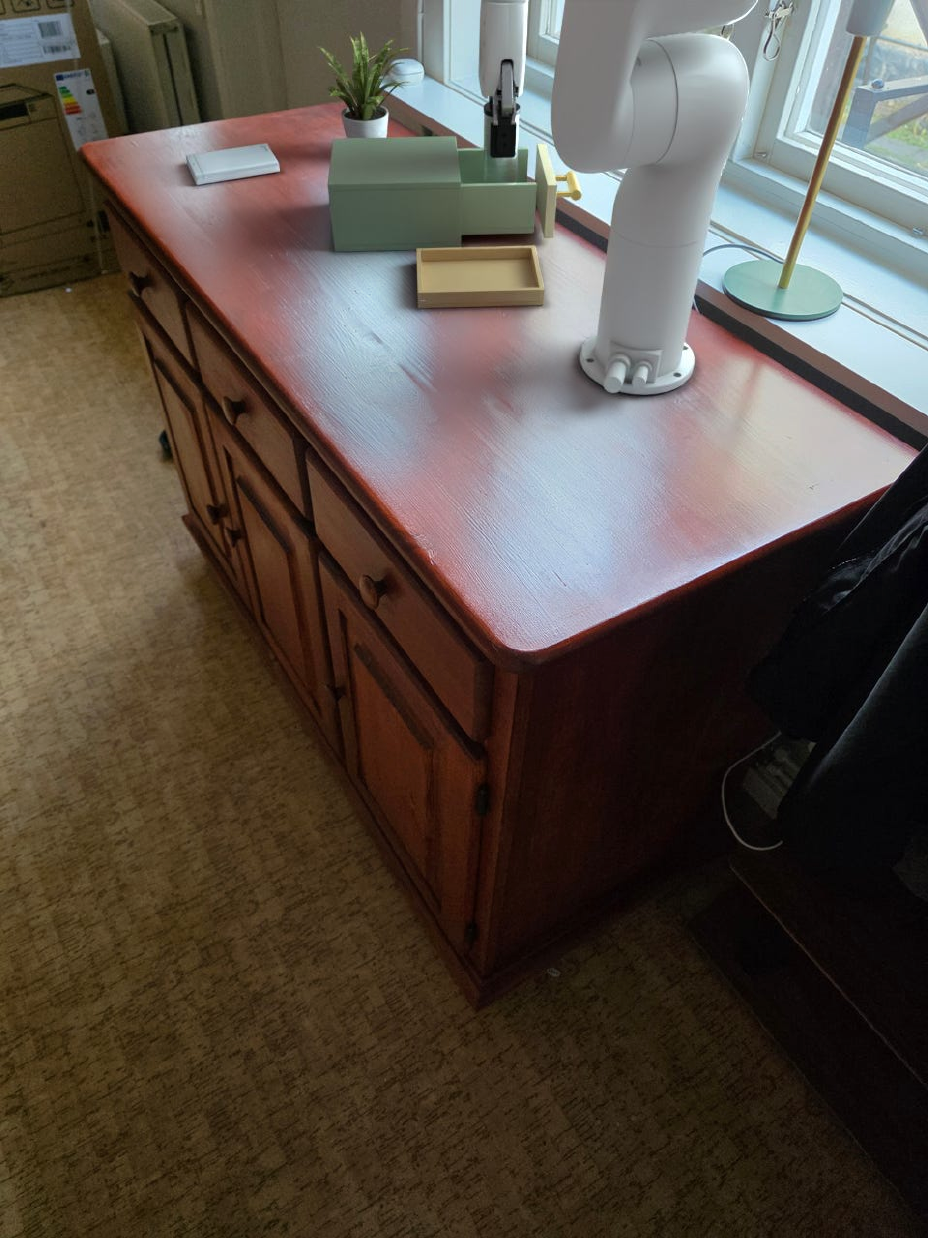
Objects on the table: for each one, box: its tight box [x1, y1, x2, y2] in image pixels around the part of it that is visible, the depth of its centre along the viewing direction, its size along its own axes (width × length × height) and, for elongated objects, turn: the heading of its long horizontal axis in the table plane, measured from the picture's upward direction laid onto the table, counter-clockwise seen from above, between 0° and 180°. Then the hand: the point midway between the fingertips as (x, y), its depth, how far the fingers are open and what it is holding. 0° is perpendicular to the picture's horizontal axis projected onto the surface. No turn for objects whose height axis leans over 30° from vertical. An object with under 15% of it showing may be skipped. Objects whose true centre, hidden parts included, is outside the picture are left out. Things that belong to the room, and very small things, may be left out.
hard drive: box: [185, 142, 281, 186], centre depth 133 cm, size 2×8×12 cm
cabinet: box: [327, 135, 462, 253], centre depth 118 cm, size 17×15×9 cm
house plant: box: [314, 31, 413, 138], centre depth 130 cm, size 14×14×16 cm
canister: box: [483, 101, 521, 183], centre depth 116 cm, size 5×5×13 cm
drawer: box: [457, 142, 583, 239], centre depth 119 cm, size 19×13×7 cm
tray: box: [415, 245, 546, 309], centre depth 110 cm, size 15×11×2 cm
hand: (500, 145), depth 114 cm, fingers open, 5 cm apart
